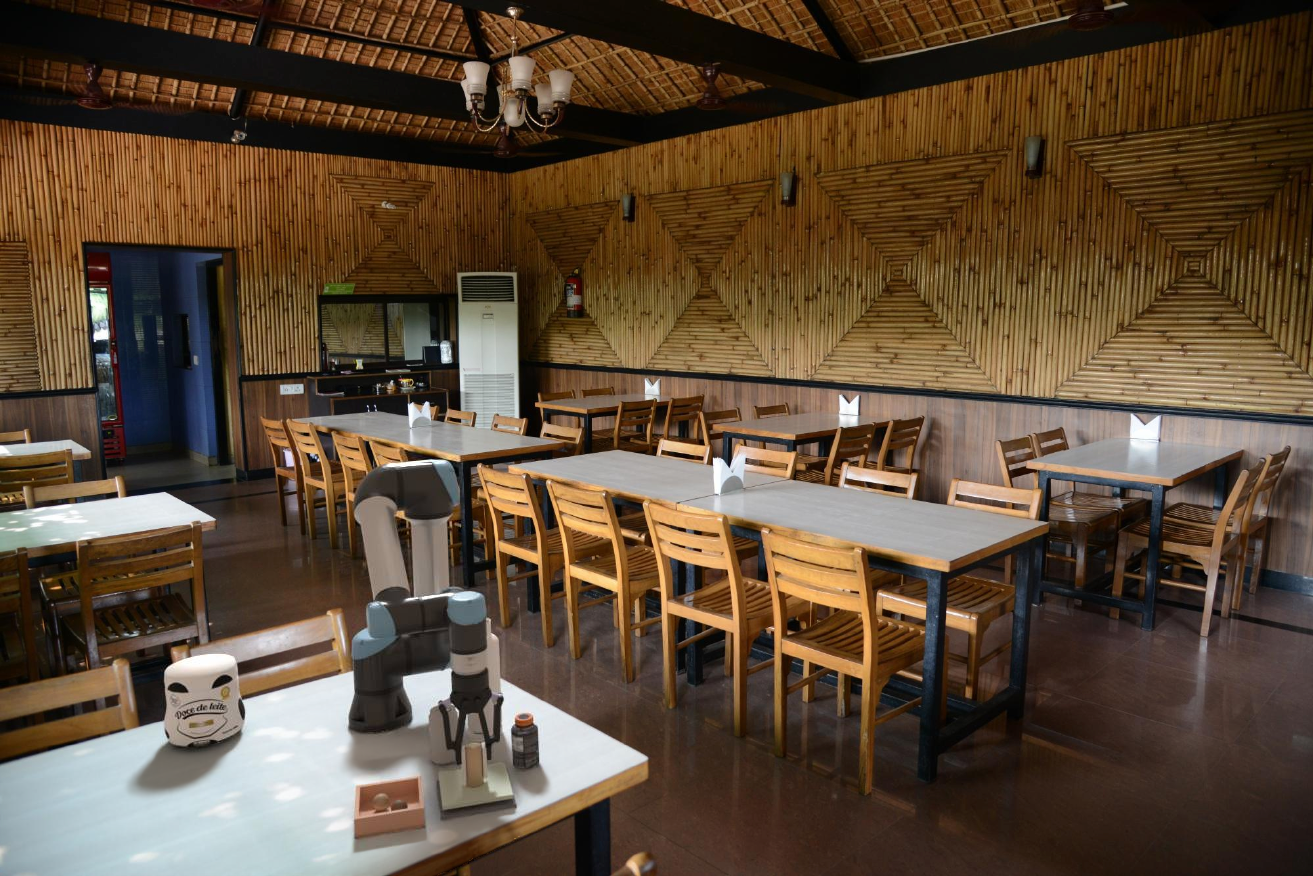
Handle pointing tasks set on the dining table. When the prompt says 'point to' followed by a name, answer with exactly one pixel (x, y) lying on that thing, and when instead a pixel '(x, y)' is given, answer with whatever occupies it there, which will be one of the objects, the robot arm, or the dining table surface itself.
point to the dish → (389, 807)
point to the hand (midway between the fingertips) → (474, 776)
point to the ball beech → (380, 802)
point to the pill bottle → (525, 742)
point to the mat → (474, 807)
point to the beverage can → (441, 735)
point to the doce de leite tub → (203, 701)
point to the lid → (474, 782)
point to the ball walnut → (399, 805)
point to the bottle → (494, 685)
